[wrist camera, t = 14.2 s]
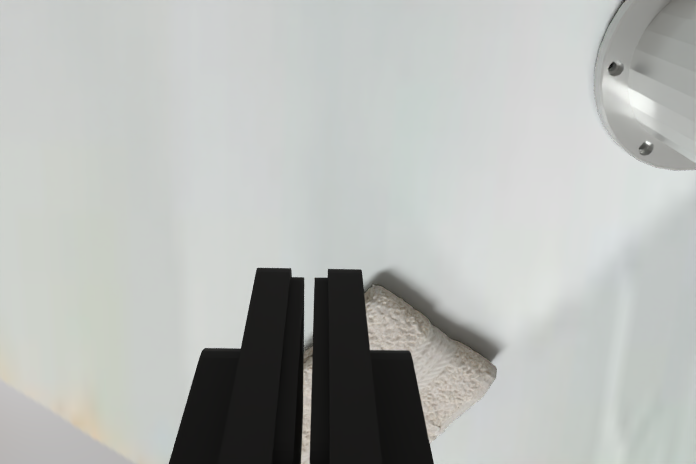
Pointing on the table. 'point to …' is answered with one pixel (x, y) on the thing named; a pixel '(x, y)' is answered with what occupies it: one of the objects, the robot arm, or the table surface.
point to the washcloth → (417, 363)
